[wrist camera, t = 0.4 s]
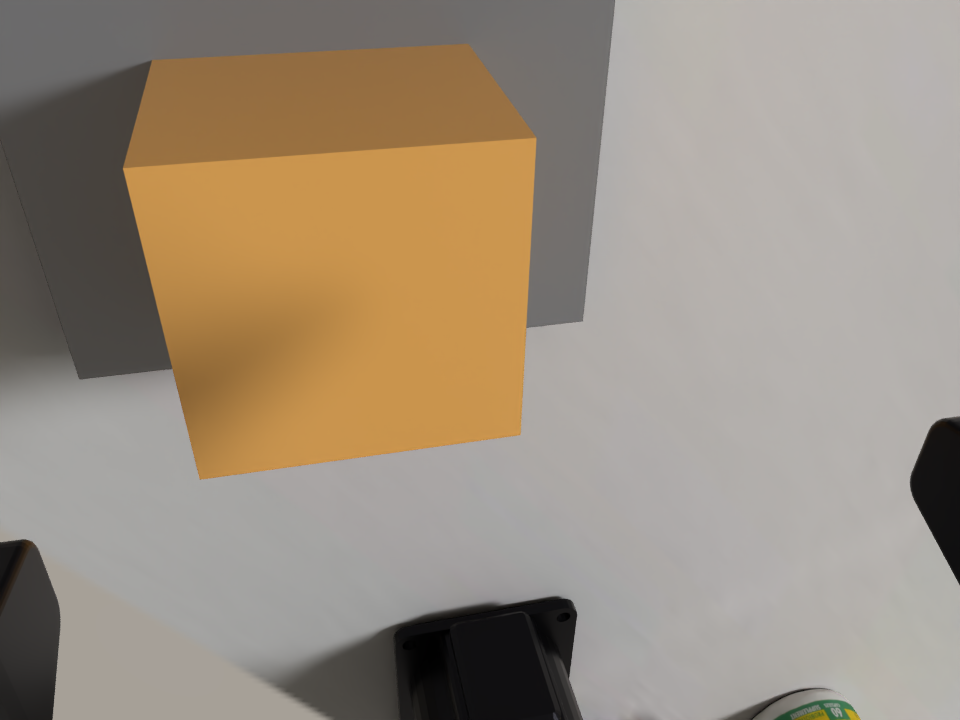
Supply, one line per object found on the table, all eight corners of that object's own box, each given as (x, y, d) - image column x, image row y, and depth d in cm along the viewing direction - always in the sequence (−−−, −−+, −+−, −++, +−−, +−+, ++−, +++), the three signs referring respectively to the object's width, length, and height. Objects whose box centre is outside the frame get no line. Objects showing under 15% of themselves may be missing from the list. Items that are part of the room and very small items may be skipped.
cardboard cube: (467, 300, 21) (520, 434, 17) (208, 328, 19) (199, 479, 16) (468, 44, 17) (536, 138, 13) (151, 59, 16) (122, 168, 12)
